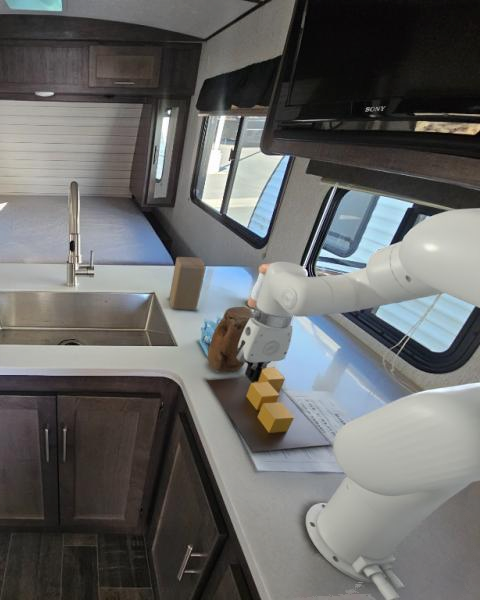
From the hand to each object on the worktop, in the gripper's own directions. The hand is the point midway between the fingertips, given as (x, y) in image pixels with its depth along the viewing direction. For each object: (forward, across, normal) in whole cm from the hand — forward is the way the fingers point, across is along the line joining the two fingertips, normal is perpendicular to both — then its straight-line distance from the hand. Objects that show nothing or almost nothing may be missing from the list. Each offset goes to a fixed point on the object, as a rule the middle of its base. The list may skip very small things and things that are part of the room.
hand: (251, 378), depth 81 cm
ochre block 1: (+11, +12, +8) cm, 18 cm away
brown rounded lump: (+11, +4, +18) cm, 21 cm away
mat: (+11, +6, 0) cm, 13 cm away
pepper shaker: (+10, +38, +54) cm, 67 cm away
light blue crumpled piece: (+10, +4, +26) cm, 29 cm away
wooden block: (+10, +6, +56) cm, 58 cm away
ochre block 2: (+11, +6, +2) cm, 13 cm away
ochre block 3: (+11, +5, -6) cm, 13 cm away
